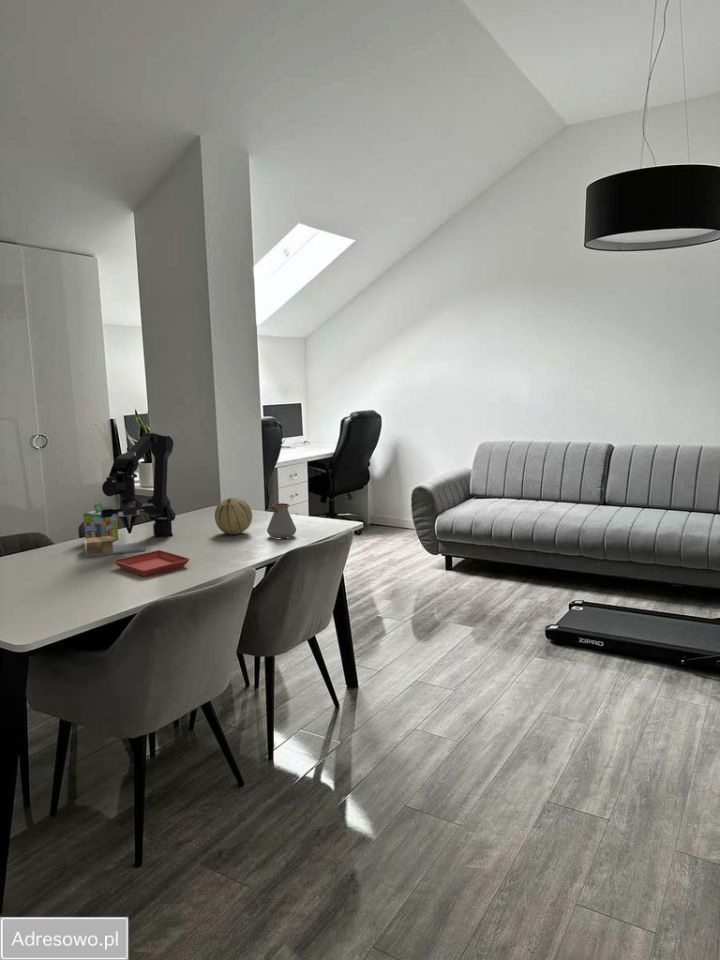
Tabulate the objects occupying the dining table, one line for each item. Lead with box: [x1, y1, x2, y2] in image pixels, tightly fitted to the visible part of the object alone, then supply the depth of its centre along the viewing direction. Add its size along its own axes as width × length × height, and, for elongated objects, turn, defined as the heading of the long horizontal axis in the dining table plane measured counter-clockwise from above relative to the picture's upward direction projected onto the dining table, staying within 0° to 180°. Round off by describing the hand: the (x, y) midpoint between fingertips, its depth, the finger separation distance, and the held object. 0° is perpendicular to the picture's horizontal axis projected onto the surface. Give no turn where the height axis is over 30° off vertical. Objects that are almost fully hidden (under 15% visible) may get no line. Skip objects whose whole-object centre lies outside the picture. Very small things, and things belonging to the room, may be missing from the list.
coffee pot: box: [266, 502, 297, 539], centre depth 272 cm, size 21×12×15 cm, turn 174°
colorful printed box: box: [83, 502, 119, 542], centre depth 272 cm, size 9×9×15 cm
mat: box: [83, 542, 146, 558], centre depth 259 cm, size 20×12×1 cm, turn 114°
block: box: [83, 536, 114, 555], centre depth 256 cm, size 4×8×9 cm
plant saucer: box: [113, 549, 190, 577], centre depth 235 cm, size 18×18×3 cm
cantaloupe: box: [214, 497, 253, 535], centre depth 283 cm, size 15×15×15 cm
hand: (129, 533), depth 260 cm, fingers closed
